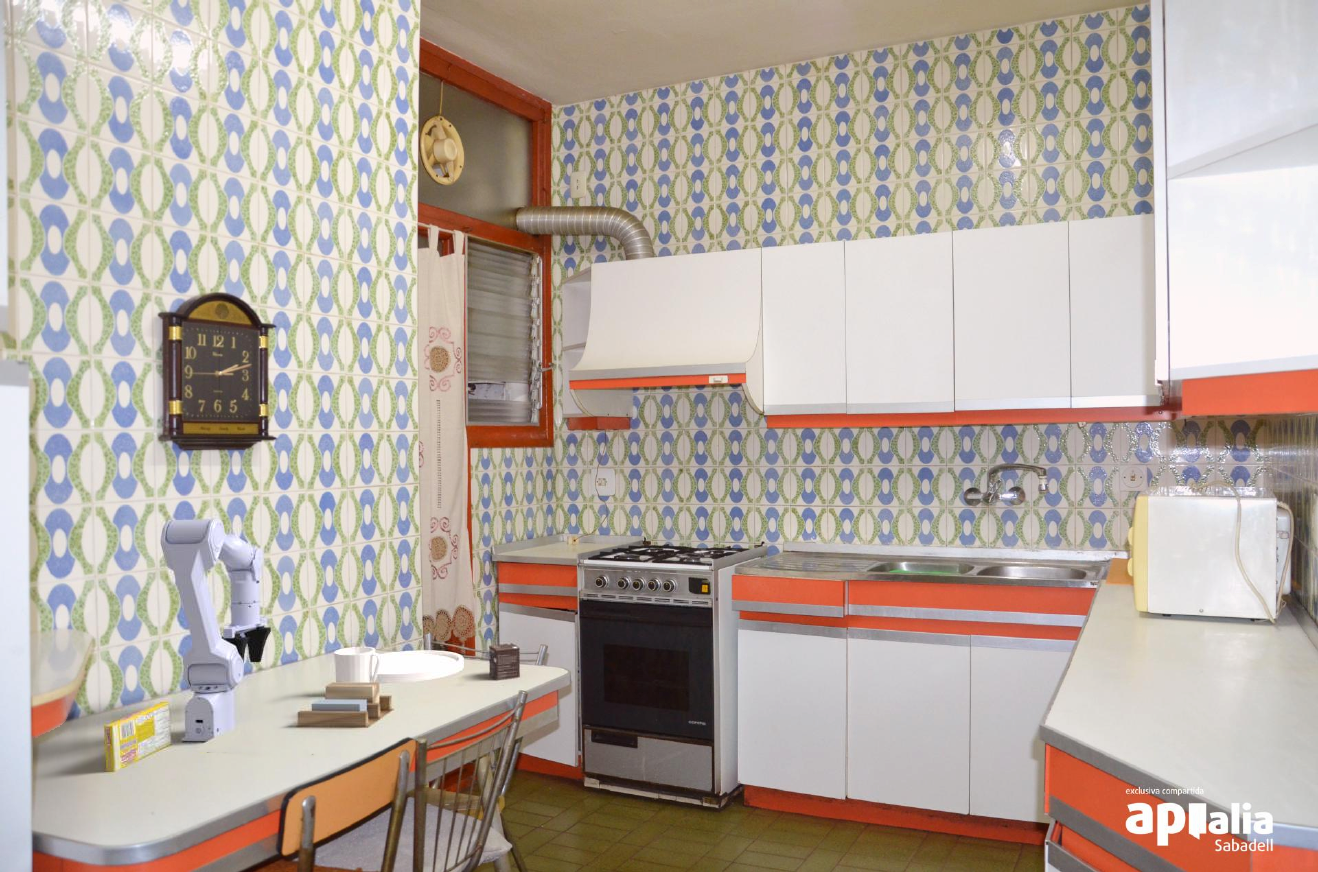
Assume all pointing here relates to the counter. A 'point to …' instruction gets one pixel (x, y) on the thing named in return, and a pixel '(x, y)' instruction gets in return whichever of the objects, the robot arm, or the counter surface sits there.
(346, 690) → the wooden block
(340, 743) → the counter surface
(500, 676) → the box
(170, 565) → the robot arm
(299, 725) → the rack
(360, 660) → the mug
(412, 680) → the plate
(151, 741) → the candy box
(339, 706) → the blue slat
